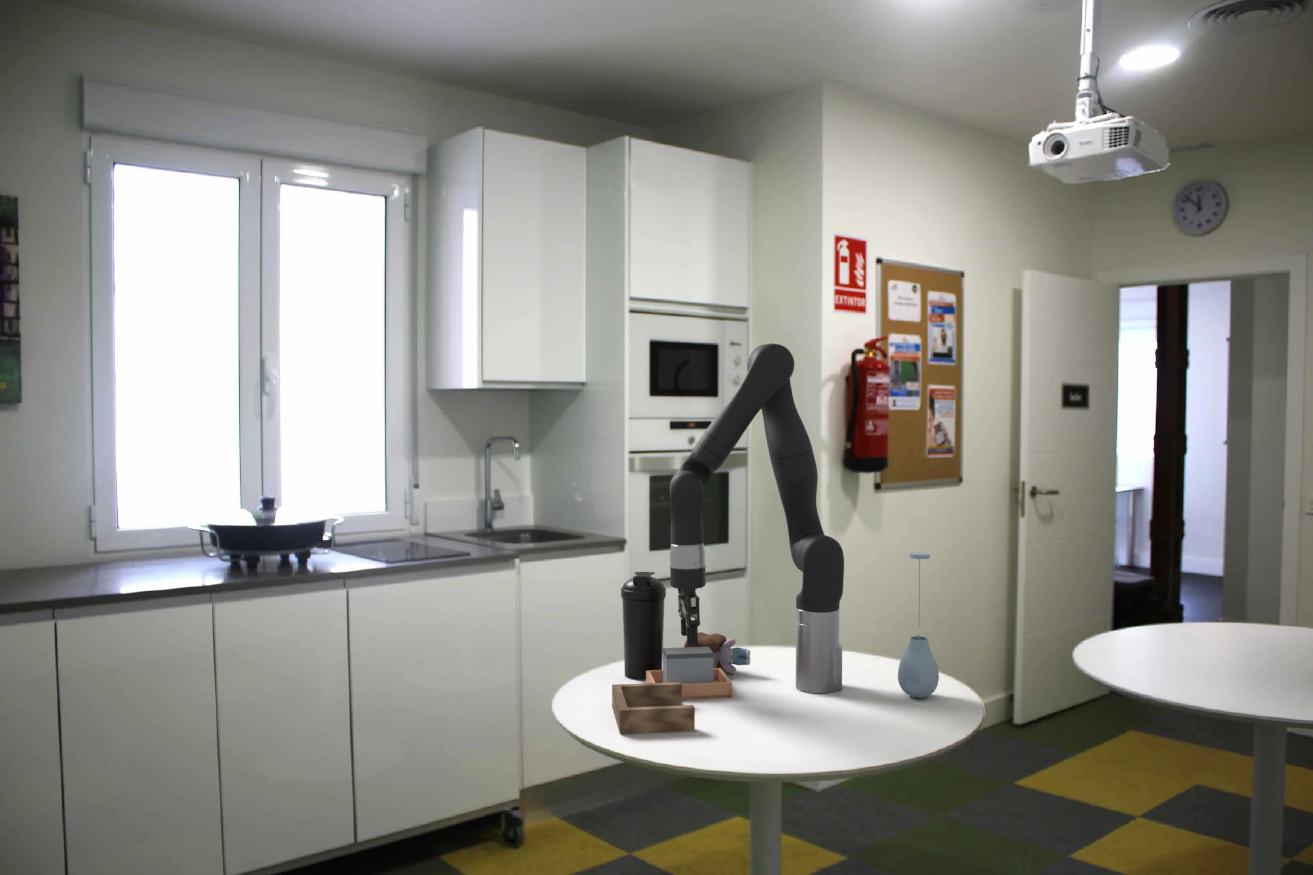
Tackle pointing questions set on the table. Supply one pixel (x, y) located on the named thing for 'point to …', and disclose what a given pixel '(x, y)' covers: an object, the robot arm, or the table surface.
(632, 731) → the bay
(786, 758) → the table surface
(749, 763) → the table surface
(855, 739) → the table surface
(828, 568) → the robot arm
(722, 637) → the toy
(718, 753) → the table surface
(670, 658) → the grey rectangular prism
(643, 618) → the water bottle
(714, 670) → the tray
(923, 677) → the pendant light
